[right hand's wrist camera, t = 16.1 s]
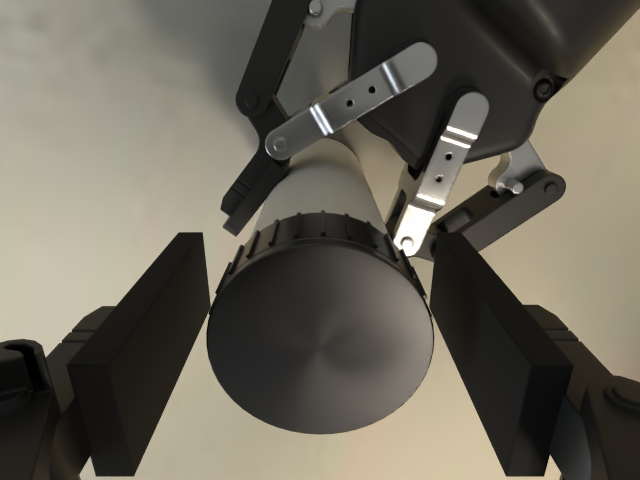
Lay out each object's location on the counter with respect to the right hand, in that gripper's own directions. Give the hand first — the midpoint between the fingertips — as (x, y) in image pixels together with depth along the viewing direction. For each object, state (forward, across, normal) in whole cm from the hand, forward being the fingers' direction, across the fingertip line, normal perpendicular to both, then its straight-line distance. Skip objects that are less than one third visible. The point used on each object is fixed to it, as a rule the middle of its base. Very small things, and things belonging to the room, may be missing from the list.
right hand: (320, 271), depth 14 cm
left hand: (+5, -2, -2) cm, 6 cm away
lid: (-4, 0, 0) cm, 4 cm away
